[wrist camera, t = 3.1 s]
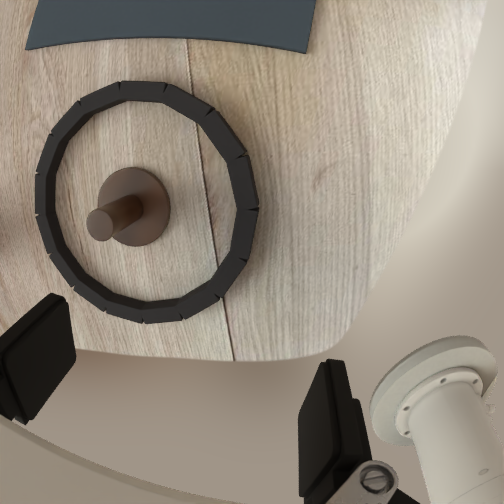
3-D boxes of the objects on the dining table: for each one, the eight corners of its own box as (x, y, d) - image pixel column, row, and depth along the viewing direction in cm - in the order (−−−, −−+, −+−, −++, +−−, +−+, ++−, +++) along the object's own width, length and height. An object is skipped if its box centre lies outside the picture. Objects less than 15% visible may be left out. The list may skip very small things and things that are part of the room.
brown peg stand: (175, 173, 25) (146, 184, 20) (166, 251, 28) (139, 280, 22) (103, 163, 26) (64, 172, 20) (99, 236, 28) (64, 259, 22)
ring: (280, 99, 23) (280, 97, 21) (234, 336, 30) (231, 346, 29) (54, 84, 23) (44, 83, 22) (48, 285, 31) (40, 291, 29)
